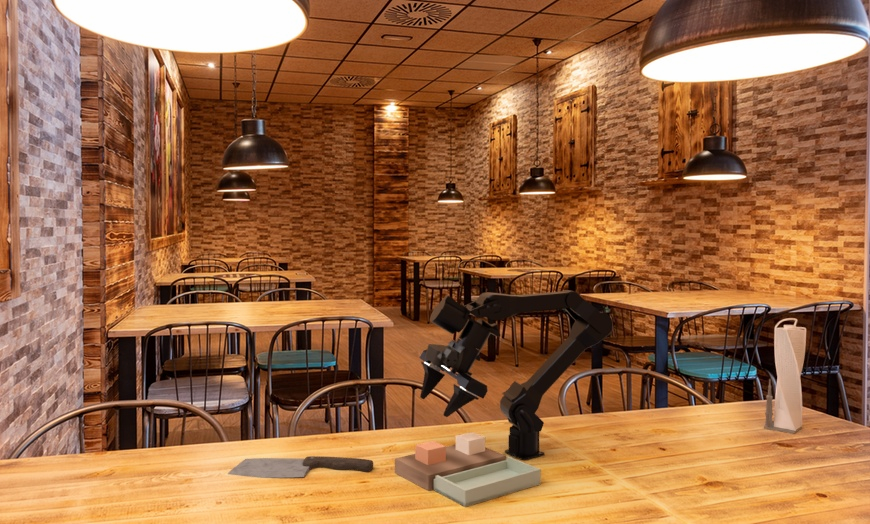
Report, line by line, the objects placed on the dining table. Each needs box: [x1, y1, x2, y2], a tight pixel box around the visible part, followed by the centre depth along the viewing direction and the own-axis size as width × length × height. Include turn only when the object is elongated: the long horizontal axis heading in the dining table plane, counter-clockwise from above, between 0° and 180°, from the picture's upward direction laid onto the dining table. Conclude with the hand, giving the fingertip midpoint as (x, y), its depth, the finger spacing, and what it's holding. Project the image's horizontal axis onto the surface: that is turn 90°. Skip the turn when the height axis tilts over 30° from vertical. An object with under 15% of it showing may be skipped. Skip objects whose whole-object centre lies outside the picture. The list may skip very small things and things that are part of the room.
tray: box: [433, 456, 542, 508], centre depth 130 cm, size 19×10×3 cm, turn 126°
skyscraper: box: [763, 317, 807, 434], centre depth 170 cm, size 8×8×28 cm
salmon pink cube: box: [414, 440, 447, 465], centre depth 137 cm, size 4×4×3 cm
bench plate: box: [394, 444, 507, 492], centre depth 139 cm, size 20×12×3 cm, turn 126°
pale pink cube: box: [455, 431, 486, 455], centre depth 143 cm, size 4×4×3 cm
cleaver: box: [227, 455, 374, 479], centre depth 139 cm, size 29×10×2 cm, turn 87°
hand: (433, 407), depth 145 cm, fingers open, 9 cm apart
